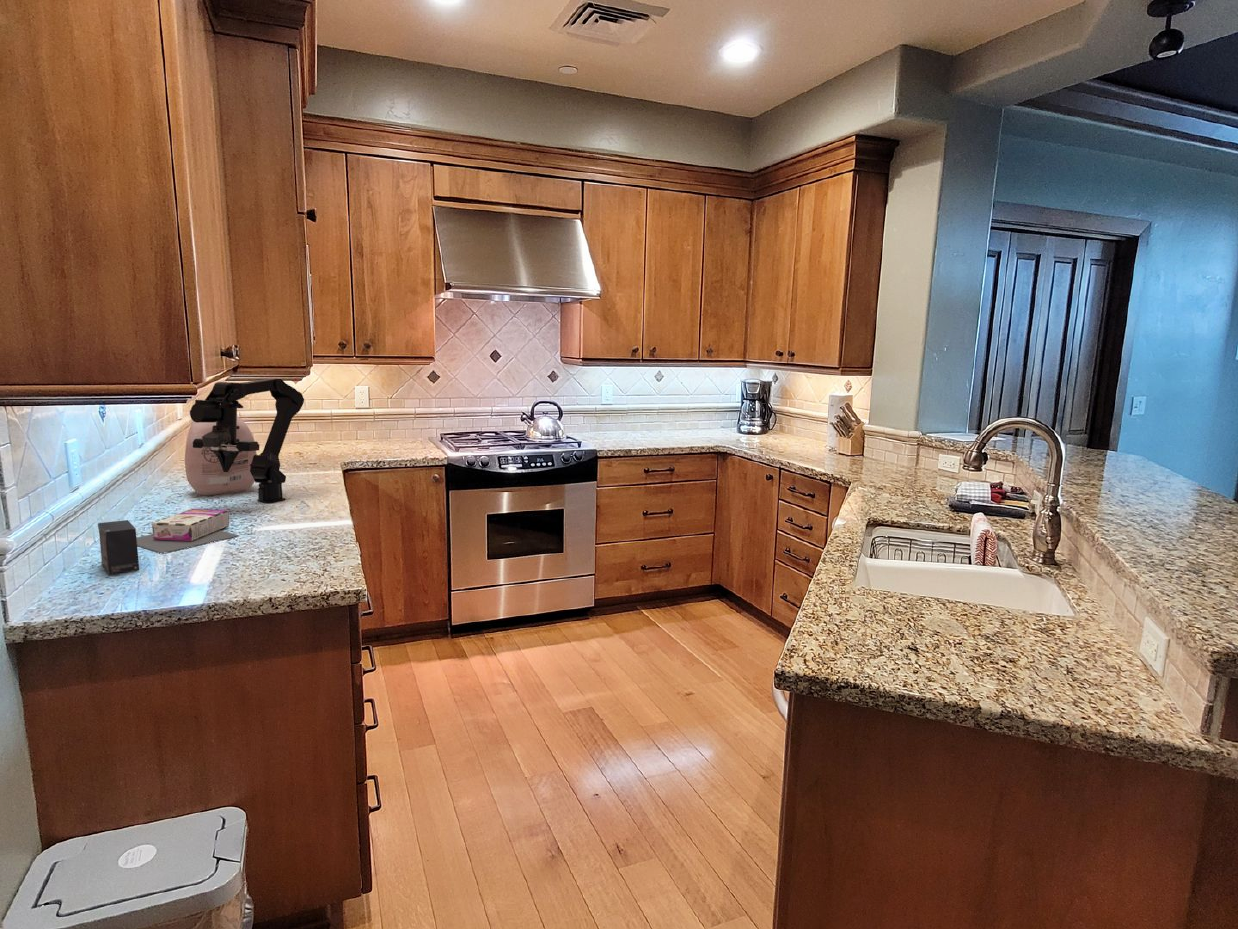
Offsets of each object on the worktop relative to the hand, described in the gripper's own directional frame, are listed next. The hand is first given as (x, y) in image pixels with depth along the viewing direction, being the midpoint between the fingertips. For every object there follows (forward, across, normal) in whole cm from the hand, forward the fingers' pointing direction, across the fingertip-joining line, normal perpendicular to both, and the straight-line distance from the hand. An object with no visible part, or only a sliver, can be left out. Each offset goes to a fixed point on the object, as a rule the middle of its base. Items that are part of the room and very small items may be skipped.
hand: (225, 472), depth 219 cm
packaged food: (+11, -17, +24) cm, 32 cm away
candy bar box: (+11, +7, -16) cm, 21 cm away
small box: (+18, +10, -53) cm, 57 cm away
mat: (+15, +8, -29) cm, 34 cm away
